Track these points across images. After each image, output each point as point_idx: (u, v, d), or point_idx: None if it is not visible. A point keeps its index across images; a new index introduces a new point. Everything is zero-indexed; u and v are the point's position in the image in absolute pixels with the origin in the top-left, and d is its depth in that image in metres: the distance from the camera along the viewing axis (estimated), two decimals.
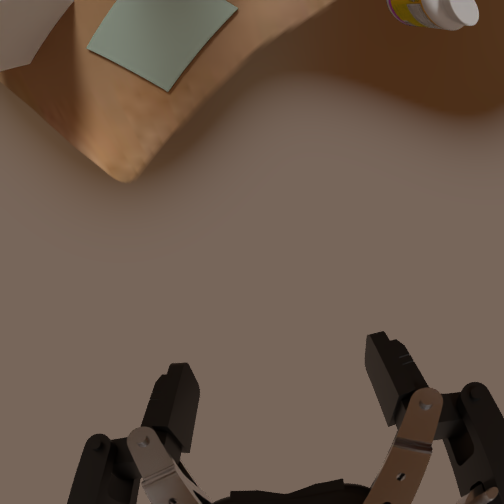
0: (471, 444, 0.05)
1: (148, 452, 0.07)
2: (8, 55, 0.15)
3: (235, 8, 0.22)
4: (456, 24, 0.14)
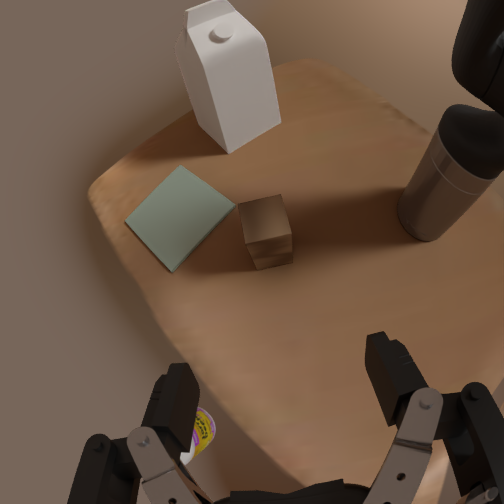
0: (471, 444, 0.05)
1: (148, 451, 0.07)
2: (196, 104, 0.43)
3: (171, 269, 0.40)
4: None
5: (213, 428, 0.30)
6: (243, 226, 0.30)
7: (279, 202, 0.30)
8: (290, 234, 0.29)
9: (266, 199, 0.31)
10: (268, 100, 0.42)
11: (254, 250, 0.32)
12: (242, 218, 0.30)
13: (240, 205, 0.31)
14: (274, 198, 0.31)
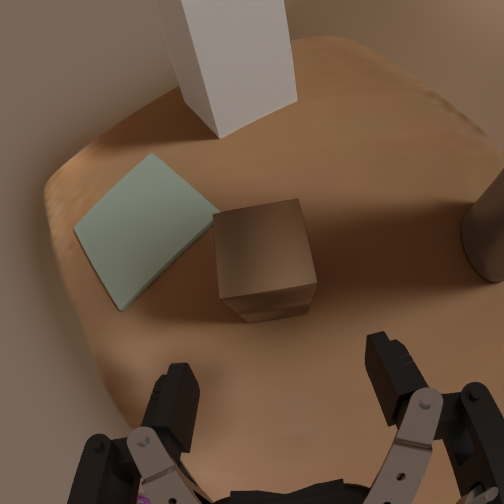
0: (471, 444, 0.05)
1: (148, 452, 0.07)
2: (179, 70, 0.29)
3: (120, 307, 0.25)
4: None
5: None
6: (218, 260, 0.15)
7: (295, 214, 0.15)
8: (314, 284, 0.14)
9: (269, 207, 0.16)
10: (280, 64, 0.27)
11: (240, 305, 0.16)
12: (218, 243, 0.15)
13: (217, 217, 0.16)
14: (284, 205, 0.15)
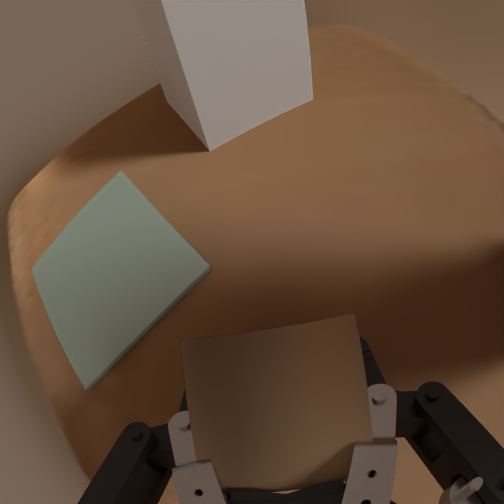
0: (439, 439, 0.06)
1: (188, 437, 0.07)
2: (156, 60, 0.20)
3: (85, 386, 0.16)
4: None
5: None
6: (197, 436, 0.06)
7: (349, 350, 0.07)
8: None
9: (295, 334, 0.07)
10: (293, 49, 0.18)
11: None
12: (194, 404, 0.07)
13: (189, 347, 0.07)
14: (328, 330, 0.07)
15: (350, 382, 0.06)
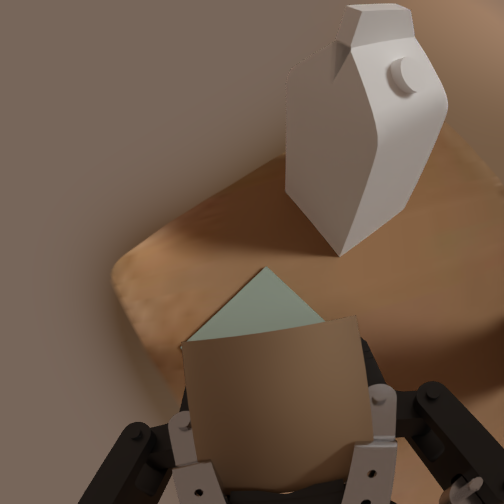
0: (439, 439, 0.06)
1: (188, 437, 0.07)
2: (299, 171, 0.29)
3: None
4: None
5: None
6: (198, 438, 0.06)
7: (350, 352, 0.07)
8: None
9: (296, 337, 0.07)
10: (409, 187, 0.27)
11: None
12: (195, 407, 0.07)
13: (190, 350, 0.07)
14: (329, 332, 0.07)
15: (351, 384, 0.06)
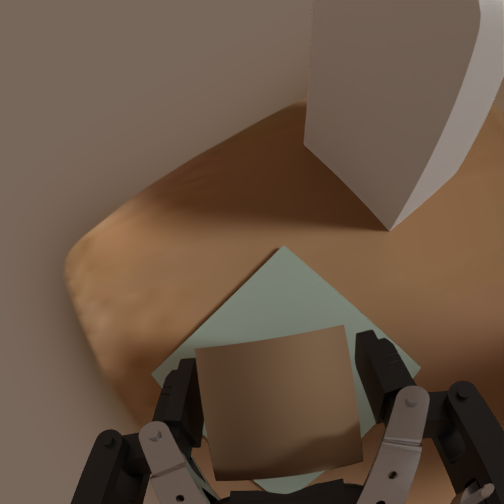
0: (462, 442, 0.06)
1: (159, 446, 0.07)
2: (331, 101, 0.17)
3: None
4: None
5: None
6: (210, 430, 0.08)
7: (338, 356, 0.08)
8: (357, 460, 0.07)
9: (293, 343, 0.08)
10: (474, 133, 0.15)
11: None
12: (207, 404, 0.08)
13: (202, 355, 0.09)
14: (320, 339, 0.08)
15: (340, 383, 0.08)
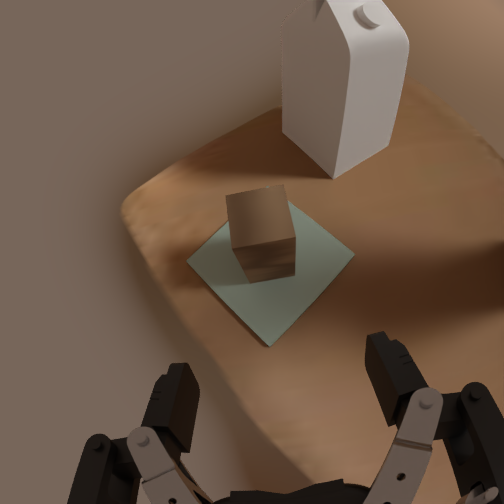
0: (471, 444, 0.05)
1: (148, 451, 0.07)
2: (294, 105, 0.32)
3: (269, 343, 0.28)
4: None
5: None
6: (230, 225, 0.22)
7: (281, 194, 0.23)
8: (294, 238, 0.21)
9: (263, 190, 0.23)
10: (389, 117, 0.30)
11: (244, 258, 0.24)
12: (230, 214, 0.23)
13: (228, 197, 0.23)
14: (274, 189, 0.23)
15: (282, 203, 0.22)
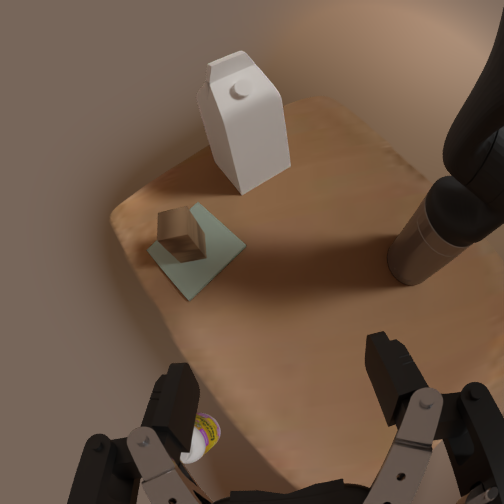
0: (471, 444, 0.05)
1: (148, 451, 0.07)
2: (214, 146, 0.51)
3: (188, 298, 0.47)
4: None
5: (219, 432, 0.37)
6: (158, 228, 0.41)
7: (184, 211, 0.42)
8: (187, 235, 0.40)
9: (176, 209, 0.42)
10: (280, 148, 0.49)
11: (167, 246, 0.43)
12: (158, 223, 0.42)
13: (159, 213, 0.42)
14: (181, 208, 0.42)
15: (184, 216, 0.41)
